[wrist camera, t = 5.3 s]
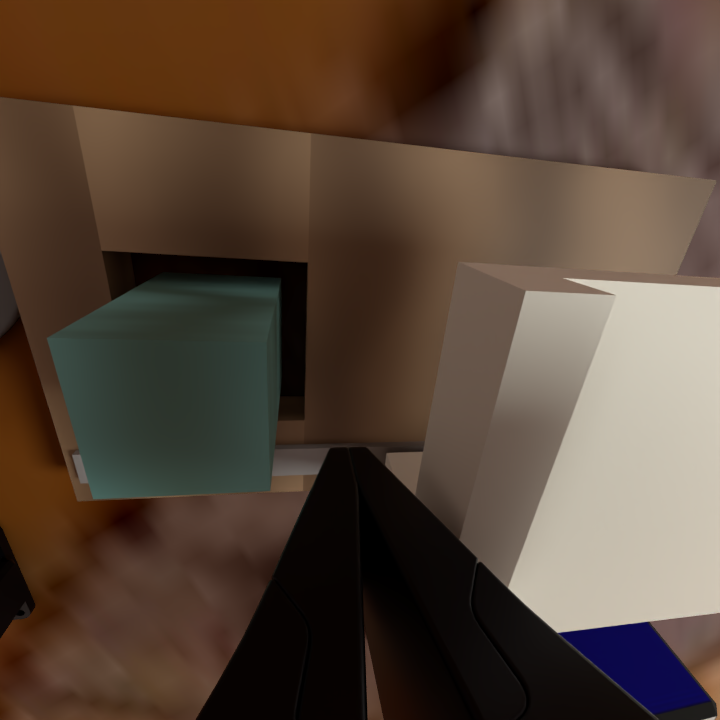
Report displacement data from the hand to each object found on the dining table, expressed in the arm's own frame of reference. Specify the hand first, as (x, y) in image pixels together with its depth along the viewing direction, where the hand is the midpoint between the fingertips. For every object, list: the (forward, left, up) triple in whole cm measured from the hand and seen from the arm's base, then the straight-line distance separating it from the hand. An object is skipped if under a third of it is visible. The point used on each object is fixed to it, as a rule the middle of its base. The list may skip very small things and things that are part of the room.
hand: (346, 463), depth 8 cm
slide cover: (+7, -1, -6) cm, 9 cm away
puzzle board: (+2, 0, -9) cm, 9 cm away
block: (-4, 0, -9) cm, 10 cm away
